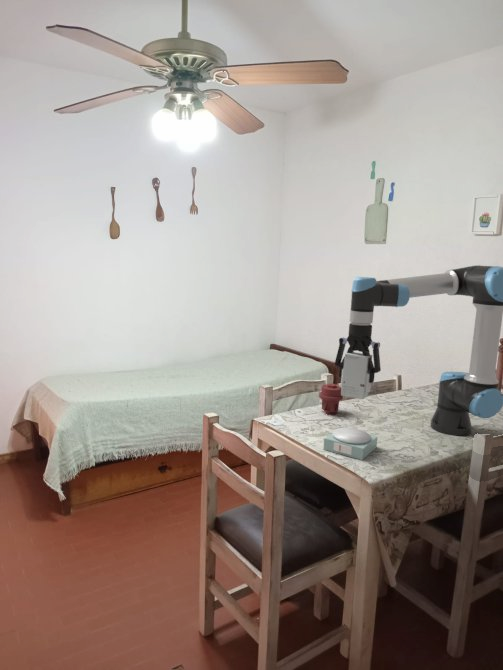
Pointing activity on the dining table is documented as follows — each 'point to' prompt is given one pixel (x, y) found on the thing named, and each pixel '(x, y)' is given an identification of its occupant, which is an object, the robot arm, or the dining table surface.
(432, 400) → the dining table surface
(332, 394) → the mechanical component
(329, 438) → the kitchen scale
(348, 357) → the skincare box
